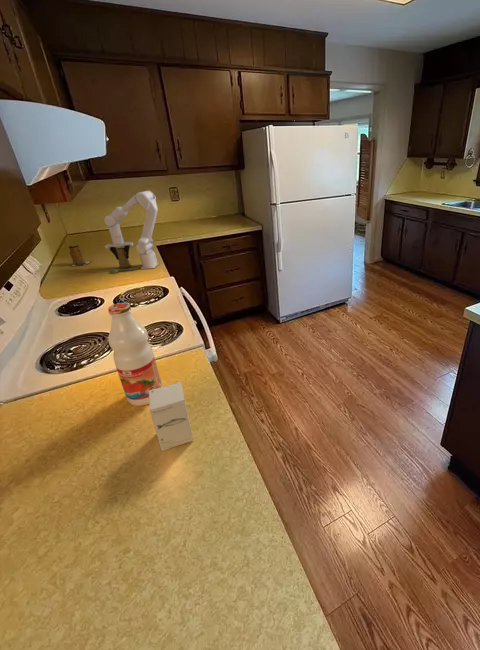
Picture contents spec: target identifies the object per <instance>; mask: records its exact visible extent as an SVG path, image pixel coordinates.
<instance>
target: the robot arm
mask: <svg viewBox="0 0 480 650" xmlns="http://www.w3.org/2000/svg"><path fill="white" fill-rule="evenodd" d="M136 205H140V206H142V207H143V208H144V209H145V210H146V213H145V218H144V222H143V227H142V231H141V237H140V238H139V239H138V242H137V244H136V245H135V251H136V252H137V253H138V254H139V257H140V262H141V265H142V266H141V267H140V270H146V269H147V270H148V269H150V270H151V269H155V268H156V267H157V266H158V265H159V264H160V262H158V259H157V254H156V253H155V251H153V248H154V242H153V241H154V239H153V238H152V237H153V234H154V233H153V232H154V229H155V225H156V220H157V217H158V211H159V208H158V204H157V196H156V195H155V194H154V192H152V191H151V190H149V189H148V190H144V191H139V192H137V193H136V194H134V195H133V196H132V197H131V198H130V199H128V201H126V203H125V204H124V205H122V206H115V209H114V210H113V211H112V212H110V213H109V215H106V216H105V217H104V219H103V221H104V223H105V225H106V226H107V228H108V231H109V234H110V238H111V241H112V243H107V244H105V245H104V247H105V249H109V251H110V252H111V253H112V254H113V255H114V257H115V258H116V260H117V261H119V260H118V254H117V253H116V249H117V248H121V247H123V248H124V250H125V253H126V257H127V259H128V260H129V259H130V247H133V246H134V243H133V241H124V236H123V233H122V229H121V227H120V226H121V221H122V220H123V219H124V218H125V217H127V216H128V214H129V211H130V210H131V209H133V208H134V207H135V206H136Z"/></svg>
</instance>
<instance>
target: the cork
mask: <svg viewBox="0 0 480 650" xmlns="http://www.w3.org/2000/svg"><path fill="white" fill-rule="evenodd" d="M116 253H117V254H118V260H117V261H118V266H119V268H128V267H131V263H130V261H129V258H128V259H127V257H126V252H125V250H124V247H116Z"/></svg>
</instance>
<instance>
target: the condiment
mask: <svg viewBox="0 0 480 650" xmlns="http://www.w3.org/2000/svg"><path fill="white" fill-rule="evenodd" d="M68 249H69V254H70V257H71V260H72V263H73V264H72V265H71V267H77V266H86V265H88V264H89V263H90V262H91V261H85V258H84V255H83V252H82V249H81V248H80V245H78V244H72V245H69V246H68Z"/></svg>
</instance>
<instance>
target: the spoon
mask: <svg viewBox="0 0 480 650" xmlns="http://www.w3.org/2000/svg"><path fill="white" fill-rule="evenodd" d="M138 269H139V268H138V267H127V268H121V269H120V268H113V269H111V270H109V272H110V274H117V273H121V272H129V271H136V270H138Z"/></svg>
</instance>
